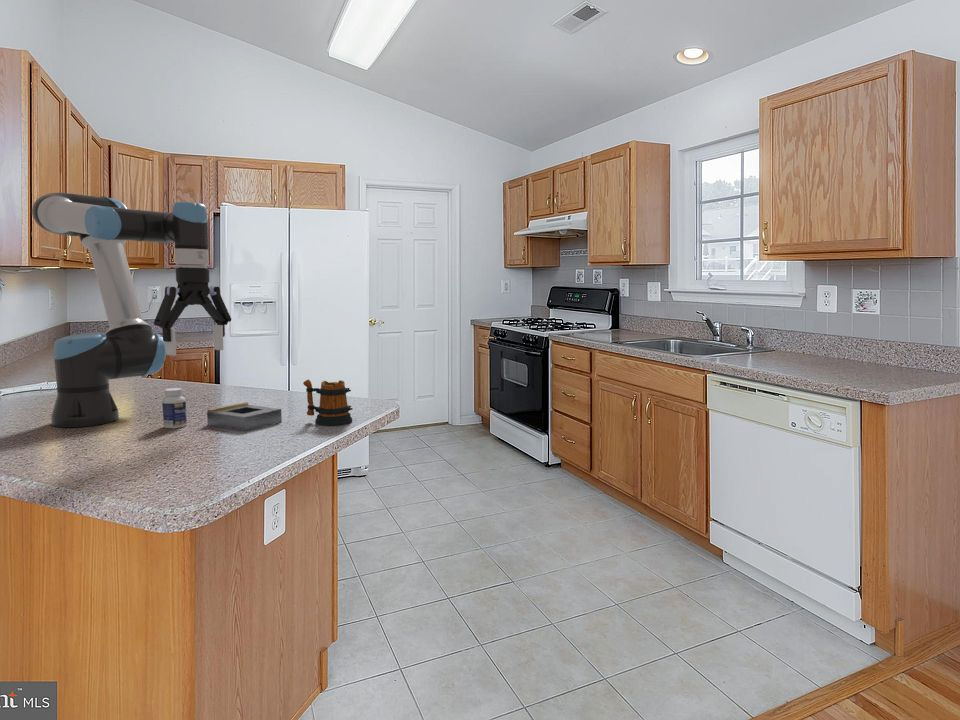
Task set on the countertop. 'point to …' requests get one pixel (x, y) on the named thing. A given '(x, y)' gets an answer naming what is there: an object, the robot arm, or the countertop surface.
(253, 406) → the jig
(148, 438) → the countertop surface
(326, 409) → the mug
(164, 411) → the pill bottle
